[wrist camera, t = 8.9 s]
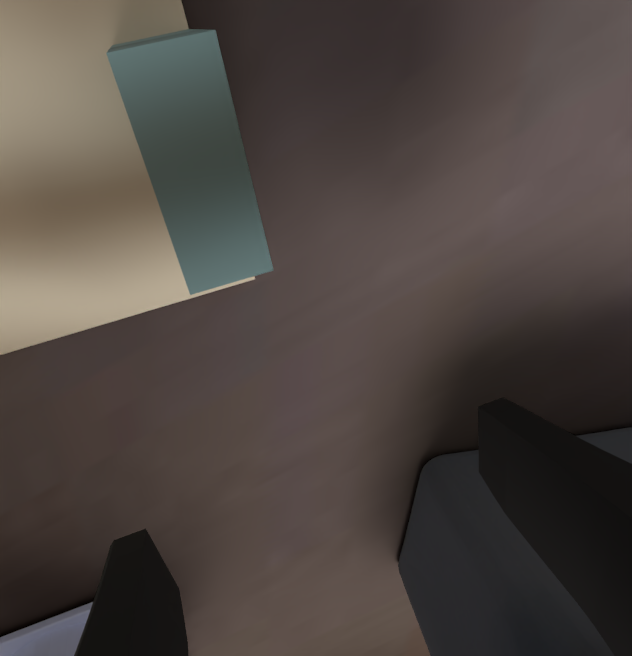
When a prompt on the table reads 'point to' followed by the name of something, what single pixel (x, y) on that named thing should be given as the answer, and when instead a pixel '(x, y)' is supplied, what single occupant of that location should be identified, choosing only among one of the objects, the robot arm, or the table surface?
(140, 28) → the wooden board
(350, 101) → the table surface
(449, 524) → the storage bin
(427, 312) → the table surface
